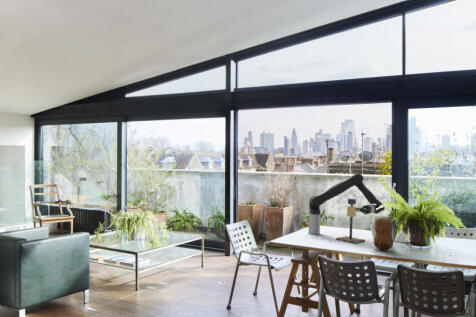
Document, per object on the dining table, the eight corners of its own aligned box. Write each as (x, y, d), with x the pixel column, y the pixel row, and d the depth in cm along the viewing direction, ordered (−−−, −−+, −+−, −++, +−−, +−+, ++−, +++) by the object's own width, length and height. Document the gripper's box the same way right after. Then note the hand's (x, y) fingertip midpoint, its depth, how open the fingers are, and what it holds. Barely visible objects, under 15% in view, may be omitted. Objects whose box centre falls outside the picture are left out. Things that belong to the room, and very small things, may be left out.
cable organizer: (413, 241, 348) (414, 227, 348) (411, 243, 339) (411, 229, 339) (395, 239, 356) (395, 225, 356) (392, 241, 347) (392, 227, 347)
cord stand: (336, 239, 346) (337, 198, 346) (346, 238, 355) (347, 197, 355) (355, 243, 332) (356, 200, 332) (365, 241, 341) (366, 199, 341)
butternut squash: (384, 247, 320) (385, 215, 320) (396, 251, 307) (397, 217, 307) (369, 248, 315) (370, 215, 315) (381, 252, 302) (382, 218, 302)
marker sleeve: (346, 216, 344) (347, 206, 344) (350, 215, 347) (350, 206, 347) (352, 216, 340) (352, 207, 340) (355, 216, 343) (356, 206, 343)
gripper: (361, 204, 365) (350, 205, 354) (375, 205, 354) (365, 207, 344) (360, 212, 365) (349, 214, 354) (375, 214, 354) (364, 216, 344)
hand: (357, 210), depth 349 cm, fingers open, 8 cm apart
